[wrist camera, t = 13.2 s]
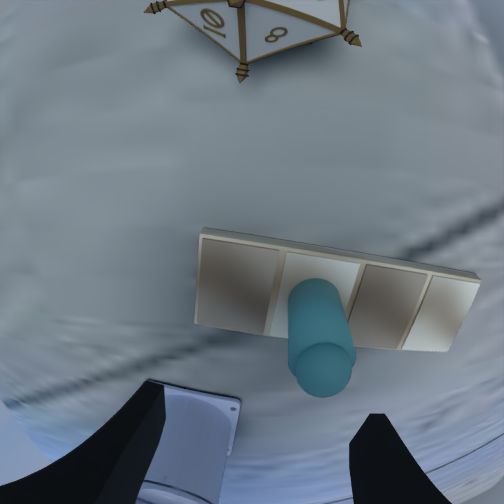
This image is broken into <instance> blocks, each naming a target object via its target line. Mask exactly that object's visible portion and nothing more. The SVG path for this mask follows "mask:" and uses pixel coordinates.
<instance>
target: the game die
mask: <svg viewBox="0 0 504 504" xmlns="http://www.w3.org/2000/svg"><path fill="white" fill-rule="evenodd" d="M164 8H168V9H170V10H171V11H173V12H174V13H175V14H177V15H178V16H180V17H181V18H183V19H184V20H185V21H187V22H188V23H190V24H191V25H192V26H194V27H195V28H197V29H198V30H199V31H201V32H202V33H203V34H205V35H206V36H207V37H209V38H210V39H211V40H213V41H214V42H215V43H216V44H218V45H219V46H220V47H222V48H223V49H224V50H225V51H227V52H228V53H229V54H230V55H232V56H233V57H234V58H235V59H236V60H238V61H239V62H240V65H239V67H238V68H237V73H235V74H236V75H237V78H238V80H239V83H241V82H242V81H243V80H244V79H245V78H246V77H247V76H248V77H249V75H248V71H249V70H248V64H250V63H253V62H255V61H258V60H260V59H263V58H266V57H269V56H271V55H274V54H277V53H280V52H283V51H286V50H289V49H292V48H295V47H298V46H301V45H305V44H308V43H309V44H312V42H315V41H318V40H322V39H325V38H329V37H333V36H337V35H342V36H343V37H344V40H345V41H348V42H349V44H350V45H356V46H360V47H362V46H361V43H360V40H359V37H358V36H359V35H356V34H354V31H349V30H347V29H346V22H347V15H348V8H349V0H164V1H162V2H158V1H156V3H153V4H152V3H150V6H149V7H148V8H147V9H146V10H145V11H144V12H143V13H154V14H156V12H161V10H162V9H164Z"/></svg>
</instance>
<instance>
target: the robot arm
mask: <svg viewBox="0 0 504 504" xmlns="http://www.w3.org/2000/svg"><path fill="white" fill-rule="evenodd" d="M240 405H241V402H240V401H239V400H238V399H235V398H229V397H223V396H217V395H212V394H207V393H202V392H197V391H192V390H187V389H183V388H178V387H174V386H170V385H166V384H161V383H157V382H153V381H149V380H147V381H145V382H144V383H143V384H142V385H141V387H140V388H139V389H138V390H137V391H136V392H135V394H134V395H133V396H132V397H131V398H130V399H129V400H128V401H127V402H126V404H125V405H124V406H123V407H122V408H121V409H120V410H119V411H118V412H117V413H116V414H115V415H114V416H113V417H112V418H111V419H110V420H109V421H108V422H106V423H105V424H104V425H103V426H102V427H101V428H100V429H99V430H97V431H96V432H95V433H94V434H93V435H92V436H90V437H89V438H88V439H87V440H86V441H84V442H83V443H82V444H80V445H79V446H78V447H76V448H75V449H74V450H72V451H71V452H69V453H68V454H66V455H65V456H63V457H62V458H60V459H58V460H57V461H55V462H54V463H52V464H50V465H48V466H47V467H45V468H43V469H41V470H39V471H37V472H35V473H33V474H30V475H28V476H26V477H24V478H22V479H19V480H17V481H14V482H11V483H8V484H5V485H2V486H0V504H218V503H219V497H220V491H221V486H222V480H223V474H224V468H225V463H226V457H227V456H229V455H231V452H232V447H233V442H234V436H235V431H236V426H237V421H238V416H239V410H240ZM349 468H350V477H351V485H352V493H353V501H354V504H452V503H451V502H450V501H449V500H448V499H447V498H446V497H445V496H444V495H443V494H442V493H441V492H440V491H439V490H438V489H437V488H436V487H435V485H434V484H433V483H432V482H431V481H430V479H429V478H428V477H427V475H426V474H425V473H424V472H423V470H422V469H421V468H420V466H419V465H418V463H417V462H416V461H415V459H414V458H413V456H412V455H411V453H410V452H409V450H408V449H407V447H406V446H405V444H404V443H403V441H402V440H401V438H400V437H399V435H398V433H397V432H396V430H395V429H394V427H393V426H392V424H391V422H390V421H389V419H388V418H387V416H386V415H385V414H369V416H368V417H367V419H366V420H365V422H364V423H363V425H362V426H361V428H360V429H359V431H358V432H357V433H356V435H355V436H354V438H353V439H352V440H351V442H350V443H349Z"/></svg>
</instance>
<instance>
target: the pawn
mask: <svg viewBox="0 0 504 504" xmlns="http://www.w3.org/2000/svg"><path fill="white" fill-rule="evenodd" d="M355 359H356V352H355V348H354V344H353V340H352V337H351V333H350V329H349V326H348V322H347V319H346V315H345V312H344V308H343V305H342V301H341V298H340V295H339V292H338V290H337V288H336V287H335V286H334V285H333V284H332V283H331V282H329V281H327V280H325V279H320V278H311V279H307V280H304V281H302V282H300V283H298V284H297V285H296V286H295V287H294V288H293V289H292V290H291V292H290V294H289V297H288V364H289V368H290V370H291V372H292V373H293V375H295V376H296V378H297V381H298V383H299V385H300V387H301V388H302V389H303V390H304V391H305V392H306V393H308V394H310V395H312V396H315V397H322V398H323V397H330V396H333V395H335V394H337V393H339V392H340V391H341V390H343V389H344V388H345V386H346V385H347V383H348V382H349V380H350V377H351V372H352V367H353V365H354V363H355Z"/></svg>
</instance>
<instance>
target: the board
mask: <svg viewBox="0 0 504 504" xmlns="http://www.w3.org/2000/svg"><path fill="white" fill-rule="evenodd" d="M311 278H320V279H325V280H327V281H329V282H331V283H332V284H333V285H334V286H335V287H336V288H337V290H338V292H339V295H340V298H341V301H342V305H343V308H344V312H345V315H346V319H347V322H348V326H349V329H350V333H351V337H352V340H353V344H354V347H366V348H378V349H392V350H408V351H428V352H448V350H449V348H450V346H451V344H452V342H453V341H454V339H455V337H456V335H457V333H458V331H459V329H460V327H461V325H462V323H463V321H464V319H465V317H466V315H467V313H468V311H469V309H470V306H471V304H472V302H473V300H474V298H475V295H476V293H477V291H478V288H479V286H480V284H481V281H482V280H481V279H480V278H479V277H478V276H477V275H476V274H475V273H470V272H465V271H459V270H454V269H449V268H443V267H438V266H432V265H427V264H421V263H416V262H410V261H405V260H399V259H394V258H388V257H382V256H376V255H371V254H365V253H359V252H353V251H347V250H341V249H336V248H330V247H324V246H318V245H312V244H305V243H299V242H293V241H287V240H281V239H275V238H268V237H262V236H256V235H249V234H243V233H237V232H230V231H224V230H217V229H211V228H203V230H202V231H201V233H200V237H199V251H198V266H197V282H196V300H195V321H194V324H200V325H205V326H210V327H216V328H221V329H227V330H233V331H239V332H245V333H251V334H258V335H264V336H271V337H278V338H285V339H288V297H289V294H290V292H291V290H292V289H293V288H294V287H295V286H296V285H297V284H298V283H300V282H302V281H304V280H307V279H311Z"/></svg>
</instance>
